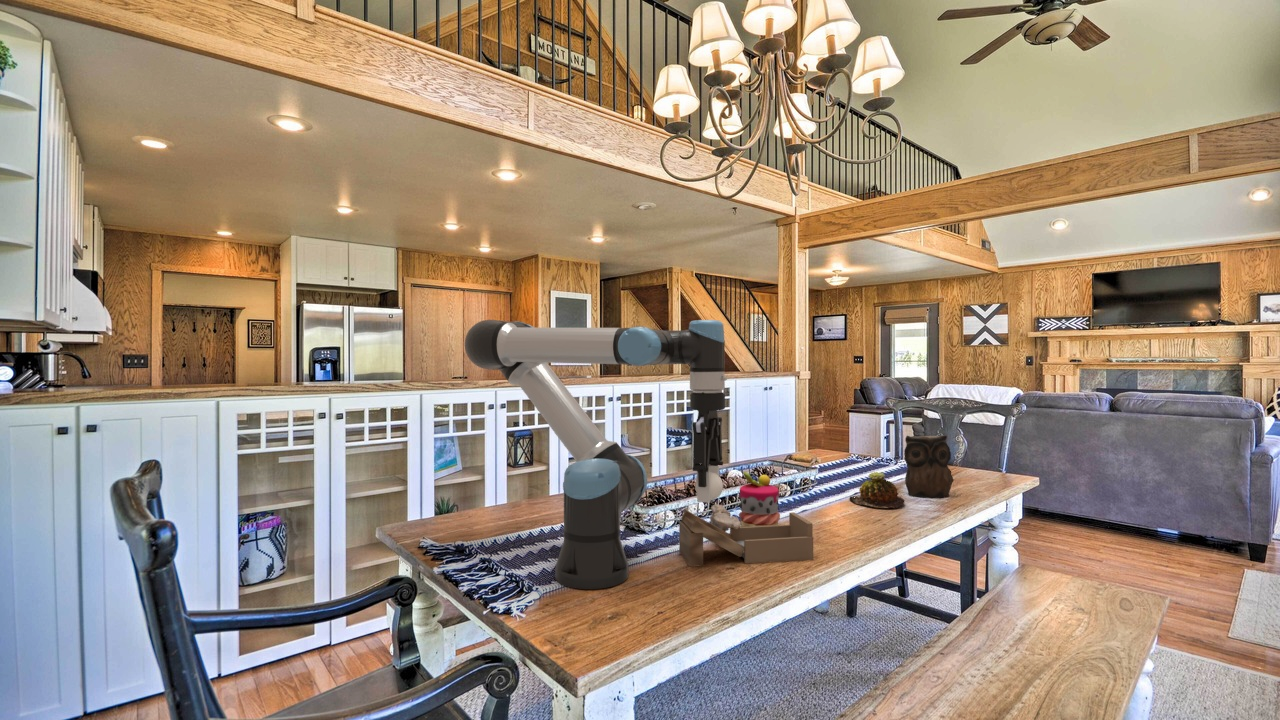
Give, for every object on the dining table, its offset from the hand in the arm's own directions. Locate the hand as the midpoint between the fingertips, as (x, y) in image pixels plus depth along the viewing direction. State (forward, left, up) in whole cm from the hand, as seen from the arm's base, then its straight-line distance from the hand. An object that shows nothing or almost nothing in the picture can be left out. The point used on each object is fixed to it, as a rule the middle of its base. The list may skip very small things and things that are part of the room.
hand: (708, 498), depth 129 cm
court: (+17, +6, -15) cm, 23 cm away
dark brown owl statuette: (+90, +54, -15) cm, 106 cm away
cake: (+22, +26, -15) cm, 37 cm away
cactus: (+69, +47, -15) cm, 85 cm away
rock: (+9, +20, -16) cm, 27 cm away
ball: (0, 0, 0) cm, 0 cm away
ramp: (+3, +6, -15) cm, 16 cm away
